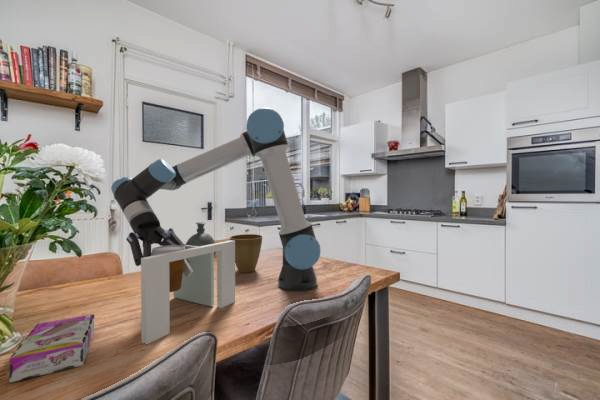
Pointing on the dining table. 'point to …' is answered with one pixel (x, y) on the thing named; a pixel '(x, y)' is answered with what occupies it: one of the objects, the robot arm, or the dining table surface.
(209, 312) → the dining table surface
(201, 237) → the flask
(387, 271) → the dining table surface
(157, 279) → the door frame
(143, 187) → the robot arm
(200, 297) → the door
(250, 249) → the plant pot
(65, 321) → the candy bar box
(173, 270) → the disposable coffee cup
